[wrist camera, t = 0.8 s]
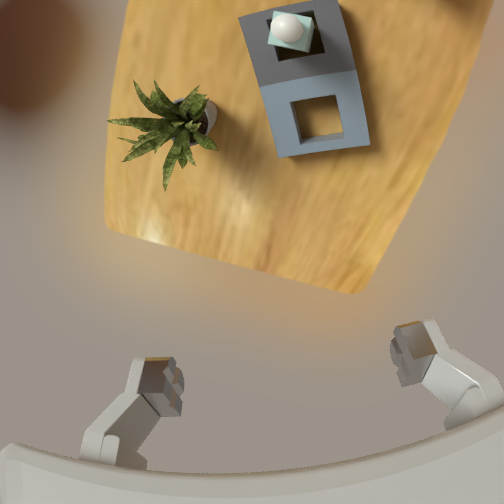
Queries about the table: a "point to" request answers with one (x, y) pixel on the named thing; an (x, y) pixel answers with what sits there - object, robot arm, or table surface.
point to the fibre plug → (291, 31)
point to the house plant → (172, 127)
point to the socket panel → (307, 79)
